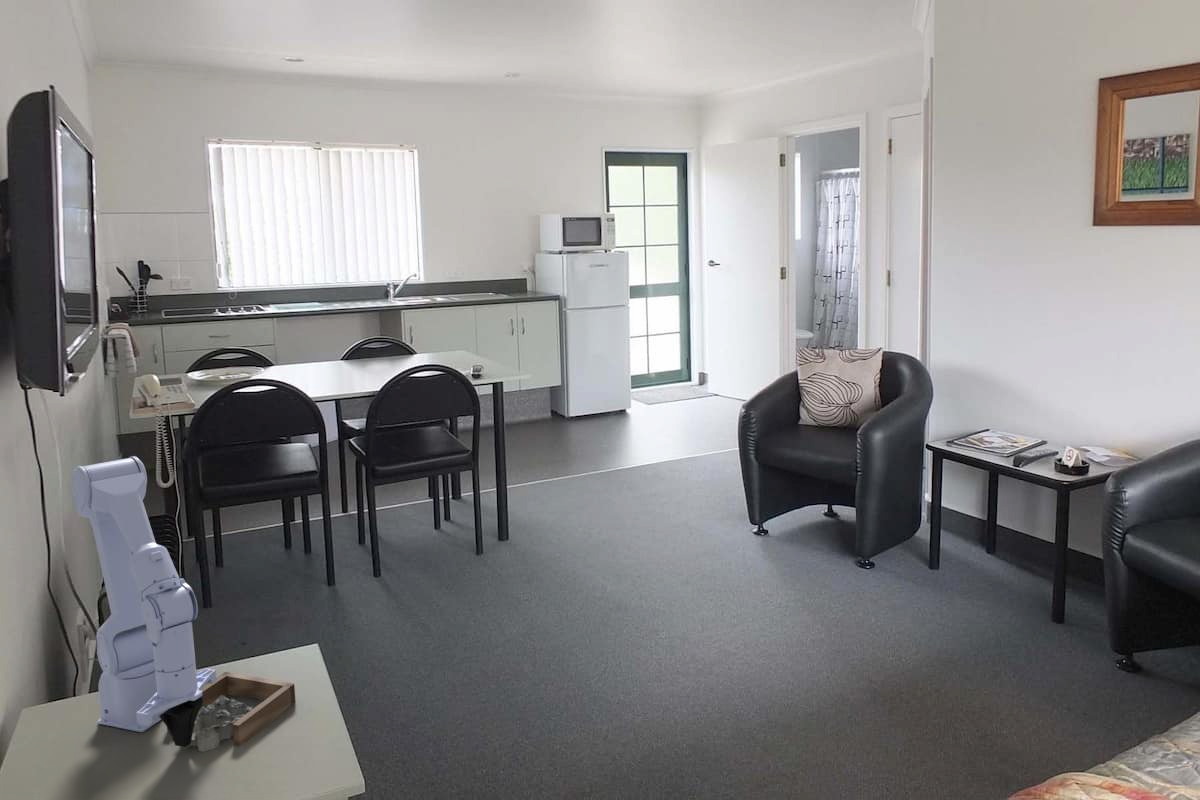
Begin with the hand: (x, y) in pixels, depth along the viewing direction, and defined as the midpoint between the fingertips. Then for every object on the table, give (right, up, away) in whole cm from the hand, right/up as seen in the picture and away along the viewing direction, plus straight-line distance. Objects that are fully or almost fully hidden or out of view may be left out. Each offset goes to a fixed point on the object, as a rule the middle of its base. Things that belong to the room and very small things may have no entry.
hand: (182, 744), depth 144 cm
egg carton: (+3, -1, +6) cm, 6 cm away
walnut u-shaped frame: (+3, +1, +11) cm, 11 cm away
